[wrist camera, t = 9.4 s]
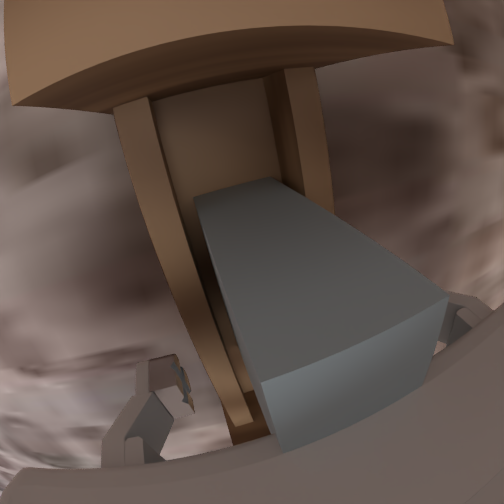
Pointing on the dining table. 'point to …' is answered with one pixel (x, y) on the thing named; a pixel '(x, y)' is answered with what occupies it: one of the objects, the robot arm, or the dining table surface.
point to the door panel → (316, 310)
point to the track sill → (206, 116)
